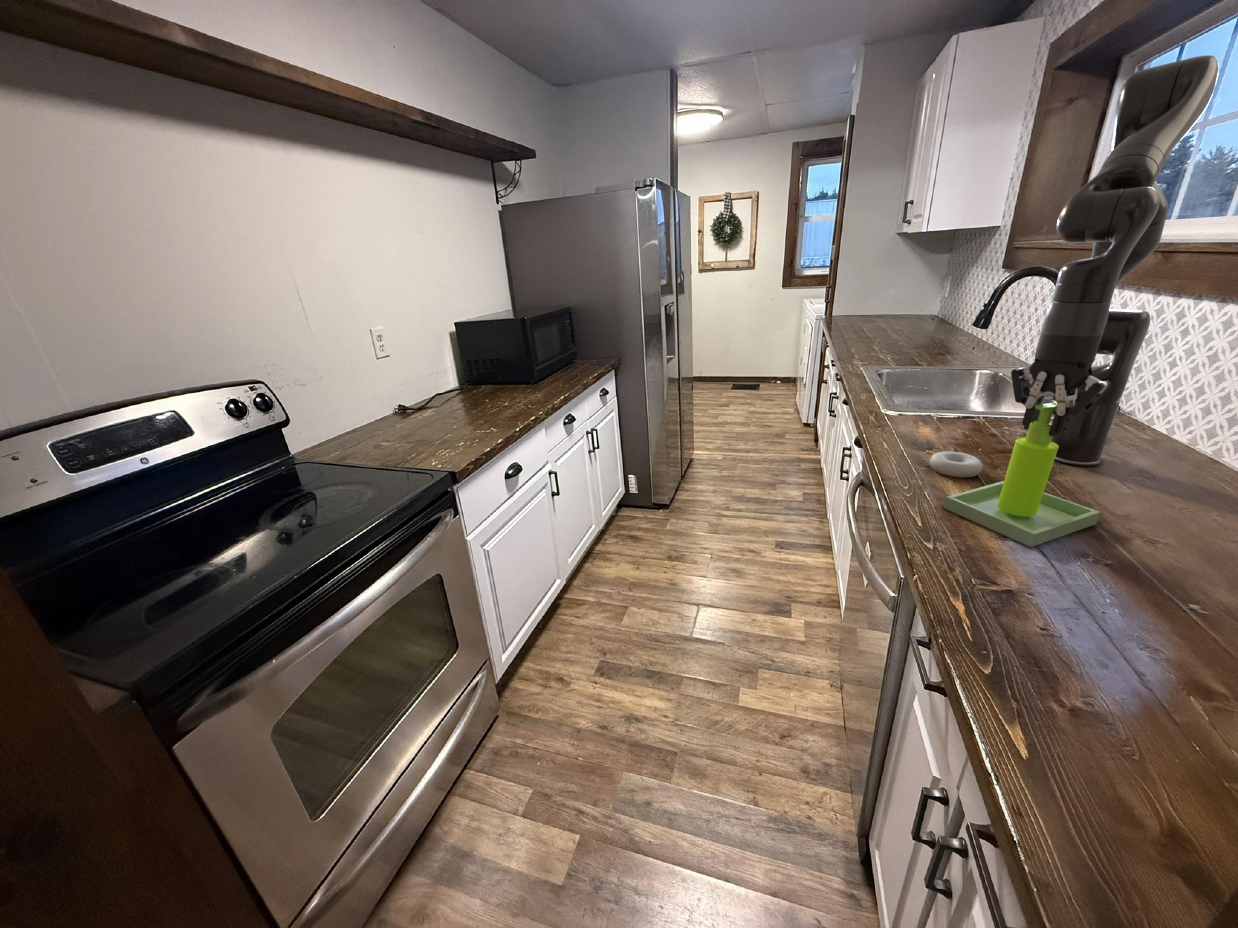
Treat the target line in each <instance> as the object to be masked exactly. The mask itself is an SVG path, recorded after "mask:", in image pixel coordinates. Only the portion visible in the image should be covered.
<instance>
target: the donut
mask: <svg viewBox="0 0 1238 928" xmlns="http://www.w3.org/2000/svg"><path fill="white" fill-rule="evenodd" d="M929 465H930V468H931V469H932V470H933V471H935V472H937V473H939V474H940V475H944V476H947V477H953V478H960V479H961V478H962V479H963V478H964V479H965V478H972V477H976V476H978V475H980V474H981V473H982V472H983V469H984V468H983V467H984V464H983V462H982V461H981V460H980V459H979V458H977V457H975V456H974V455H972V454H970V453H969V454H968V453H965V452H960V451H951V450H950V451H940V452H939V451H938V452H937V453H935V454H933V455H932V456H931V457H930V459H929Z"/></svg>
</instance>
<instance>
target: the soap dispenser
mask: <svg viewBox="0 0 1238 928" xmlns="http://www.w3.org/2000/svg"><path fill="white" fill-rule="evenodd" d="M1035 408H1036V409H1039V410H1040V413H1039V417H1038V420H1036V421H1033V422H1031V423H1030V425H1029V429H1028V430H1027V433H1026V436H1025V437H1019V438H1016V439H1015V442H1014V445H1013V448H1012V452H1011V456H1010V459H1009V462H1008V466H1007V470H1006V472H1005V476H1004V480H1003V481H1004V483H1003V487H1002V490H1001V493H1000V497H999V500H998V504H997V506H998V508H999V509H1001V510H1002V511H1004V512H1006V513H1009V514H1012V515H1016V516H1023V517H1031V516H1035V515H1036V514H1037V512H1038V509H1039V506H1040V503H1041V499H1042V496H1043V493H1044V492H1045V490H1046V487H1047V484H1048V481H1049V479H1050V475H1051V471H1052V468H1053V465H1054V463H1055V461H1056V460H1055V456H1056V453H1057V450H1058V447H1059V446H1058V445H1057V444H1056V443H1054V442H1051V438H1052V436H1050V435H1049V432H1050V429H1051V426H1052V417H1053V414H1054V412H1055V411H1057V402H1051V403H1050V402H1049V403H1048V402H1047V403H1042V404H1039V405H1036V406H1035Z"/></svg>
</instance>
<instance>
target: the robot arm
mask: <svg viewBox="0 0 1238 928" xmlns="http://www.w3.org/2000/svg"><path fill="white" fill-rule="evenodd" d="M1219 70H1220V63H1219V60H1218V58H1217V57H1216V56H1214V55H1209V54H1208V55H1199V56H1193V57H1189V58H1186V59H1181V60H1177V61H1173V62H1169V63H1165V64H1161V65H1156V66H1152V67H1149V68H1148V67H1147V68H1145V69H1141V70H1138V71H1134V72H1132V73H1131V74H1130V75H1129V76H1128V77H1127V78H1126V79H1125V80H1124V82H1123V84H1122V86H1121V88H1120V91H1119V94H1118V98H1117V100H1116V106H1115V112H1114V119H1113V125H1112V135H1111V144H1110V152H1109V154H1108V155H1107V157H1106V158H1105V160H1104V161H1103V162H1102V165H1101V167H1100V168H1099V171H1098V172H1097V174H1096V175H1095V176H1094V177H1093V178H1092V179H1090V180H1089V181H1088V182H1087V183H1085V185H1083V186H1082V187H1080V189H1078V190H1077V191H1076V192H1074V194H1073V195H1072V196H1071V197H1070V198H1069V199H1068V200H1067V202H1066V203H1065V204H1064V206H1063V207H1062V209H1061V211H1060V213H1059V214H1058V217H1057V220H1056V225H1055V227H1056V229H1055V230H1056V233H1057V235H1058V237H1059V238H1060V240H1062V241H1063V242H1065V243H1068V244H1086V243H1087V244H1089V243H1093V244H1092V251H1091V257H1089V258H1082V259H1077V260H1072V261H1069V262H1067V263H1065V264H1063V266H1061V268H1060V269H1059V272H1058V276H1057V279H1056V282H1055V287H1054V290H1053V294H1052V297H1051V301H1050V304H1049V306H1048V309H1047V310H1046V313H1045V316H1044V319H1043V322H1042V324H1041V331H1040V334H1039V338H1038V341H1037V345H1036V347H1035V348H1036V349H1035V353H1034V359H1033V362H1031V364H1030V365H1029V366H1028V367H1018V368H1014V369H1012V370H1011V371H1010V376H1011V382H1012V389H1013V395H1014V401H1015V403H1018V404H1022V405H1024V407H1025V411H1024V415H1023V418H1022V421H1021V424H1022V426H1023V429H1024V430H1027V431H1028V429H1029V425H1030V423H1031V422H1033V421H1036V420H1038V417H1039V413H1040V410H1039V409H1036V408H1035V406H1036V405H1039V404H1044V401H1045V399H1046V397H1047V396H1048V395H1050V393H1052V394H1054V395H1055V397H1054V401H1055V403H1057V410H1056V414H1054V415H1053V419H1052V421H1051V423H1052V426H1051V429H1050V432H1049V435H1050V436H1052V438H1051V442H1054V443H1056V444H1057V445H1058V446H1059V447H1058V450H1057V453H1056V456H1055V460H1054V461H1056V462H1059V463H1064V464H1067V465H1073V466H1081V467H1082V466H1083V467H1091V466H1097V465H1099V464H1100V463H1101V458H1102V455H1103V452H1104V449H1105V446H1106V443H1107V441H1108V438H1109V435H1110V432H1111V429H1112V427H1113V424H1114V421H1115V419H1116V416H1117V413H1118V411H1119V410H1121V401H1122V398H1123V395H1124V392H1125V390H1126V388H1127V387H1126V386H1127V384H1128V381H1129V378H1130V376H1131V373H1132V371H1133V368H1134V365H1135V362H1136V359H1137V357H1138V355H1139V353H1140V350H1141V348H1142V345H1143V343H1144V341H1145V339H1146V336H1147V334H1148V332H1149V328H1150V325H1151V314H1150V313H1149V312H1148V311H1147V310H1143V309H1142V310H1140V309H1121V308H1120V309H1117V308H1110V307H1111V302H1112V299H1113V295H1114V292H1115V290H1116V287H1117V286H1118V285H1119V284H1120V283H1121V282H1123V280H1124V279H1125V278H1126V277H1127V276H1129V274H1131V273H1132V272H1133V271H1134V270H1135V269H1136V268H1137V267H1139V266H1140V265H1141V264H1142V263H1143V262H1144V261H1146V259H1147V258H1149V257H1150V256H1151V255H1152V253H1153V252H1154V251H1155V250H1156V249H1157V247H1158V246H1159V244H1160V242H1161V239H1162V236H1163V231H1164V227H1165V224H1166V220H1167V216H1168V212H1169V202H1168V200H1167V197H1166V195H1165V193H1164V191H1163V190H1162V189H1161V187H1160V186H1159V184H1158V182H1157V181H1156V180H1157V179H1158V176H1159V175H1160V172H1161V171H1162V169H1163V166H1164V165H1165V162H1166V160H1167V159H1168V157H1169V156H1170V154H1171V153H1172V151H1173V150H1174V149H1175V148H1176V146H1177V145H1178V144H1179V143H1180V142H1181V141H1182V139H1183V138H1184V137H1185V136H1186V135H1187V134H1188V133H1189V131H1191V129H1192V127H1194V125H1195V124H1196V123H1197V122H1198V120H1199V119H1200V118H1201V117H1202V115H1203V113H1204V112H1205V111H1206V109H1207V107H1208V106H1209V103H1210V101H1211V99H1212V97H1213V94H1214V92H1215V87H1216V85H1217V81H1218V77H1219V72H1220V71H1219ZM1097 355H1107V356H1113V358H1112V360H1110V361H1109V362H1107V363H1104V364H1101V365H1098V366H1093V364H1094V362H1095V360H1096V358H1097V357H1096V356H1097ZM1030 378H1032V380H1033V383H1034V384H1033V385H1032V387H1031V384H1030ZM1119 404H1120V406H1119Z"/></svg>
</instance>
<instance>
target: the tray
mask: <svg viewBox="0 0 1238 928" xmlns="http://www.w3.org/2000/svg"><path fill="white" fill-rule="evenodd" d="M1003 483H1004V480H1002V481H999V482H998V481H997V482H995V483H991V484H988V485H984V486H980V487H977V488H973V489H970V490H966V491H961V492H959V493H955V494H951V495H948V496H946V497H945V501H944V505H943V509H945V510H946V511H949V512H951V513H953V514H956V515H958V516H960V517H962V518H965V519H966V520H969V521H972V522H974V523H975V524H978V525H981V526H982V527H985V528H987V529H989V530H992V531H993V532H996V533H998V534H1000V535H1003V536H1005V537H1007V538H1009V539H1012V540H1014V541H1016V542H1018V543H1021V544H1023V545H1025V546H1027V547H1030V548H1033V547H1035V546H1038V545H1042V544H1044V543H1046V542H1049V541H1052V540H1055V539H1058V538H1061V537H1064V536H1067V535H1069V534H1072V533H1075V532H1078V531H1081V530H1084V529H1086V528H1089V527H1092V526H1095V525H1097V522H1098V520H1099V517H1100V514H1101V511H1098V510H1096V509H1093V508H1091V507H1088V506H1084V505H1081V504H1079V503H1076V502H1073V501H1071V500H1068V499H1065V498H1063V497H1059V496H1056V495H1054V494H1050V493H1047V492H1045V491H1044V493H1043V496H1042V499H1041V503H1040V506H1039V509H1038V512H1037V514H1036V515H1035V516H1031V517H1023V516H1016V515H1012V514H1009V513H1006V512H1004V511H1002V510H1001V509H999V508H998V506H997V504H998V500H999V497H1000V493H1001V490H1002V487H1003Z"/></svg>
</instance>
